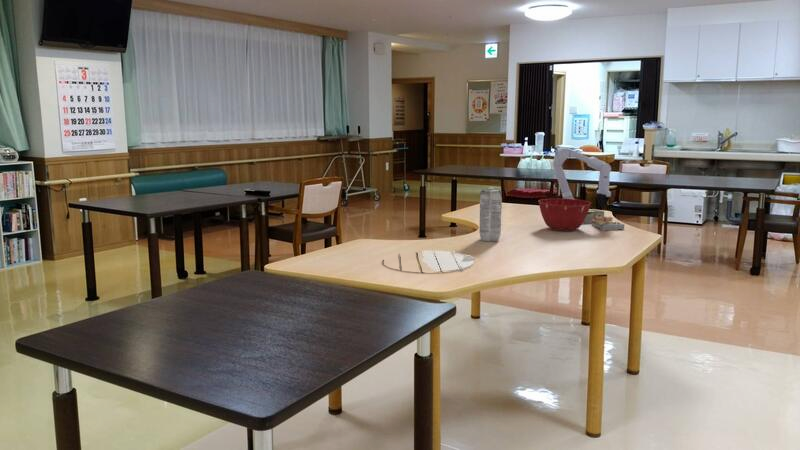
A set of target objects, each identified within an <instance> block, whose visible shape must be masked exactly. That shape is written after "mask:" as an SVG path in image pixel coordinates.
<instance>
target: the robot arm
mask: <svg viewBox="0 0 800 450" xmlns="http://www.w3.org/2000/svg"><path fill="white" fill-rule="evenodd" d="M568 158H571V159H572V158H575V159H577V160H579V161H582V162H584V163H586V165H587V166H588V167H589V168H592V169H594V170H595V171H599V175H598V176H599V177H598V189H597V190H596V198H597V200H598V205H599V208H601V209H606V208H607V205H608V202H609V200H610V198H611V195H612V192H611V191H610V178H611V177H610V175H611V171H612V167H611V165H610V163H606V161H604V160H600V159H598V157H596V156H591V157H588V156H587V155H584V154H582V153H581V152H578V151H576V150H574V149H571V148H566V147H565V146H564V147H563V146H561V147H558V149H557V150H556V151H555V153H554V156H553V162H552V168H553V170H554V172H555V175H556V179H557V182H558V184H559V188H560V190H561V195H562V199H575V198H574V197H573V193H572V191H571V189H570V186H569V183H568V179H567V177H566V174H565V171H564V168H563V165H564V163H565V161H566V160H567V159H568Z"/></svg>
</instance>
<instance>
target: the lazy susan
mask: <svg viewBox="0 0 800 450" xmlns="http://www.w3.org/2000/svg"><path fill="white" fill-rule="evenodd" d="M422 251H423V252H424V253H423V252H422V254H423V256H424V258H423V260H422V261H423V262H424V263H426V264H427V265H428V267H430V268H431V269H434V270H436V271H438V272H439V271H441V270H442V271H456V270H461V271H465V270H468V269H470V268H471V266H472V267H473V266H474V264H475V261H476V259H475V257H473V256H472V255H470V254H464V253H458V252H455V250H452V251H445V250H430V249H429V250H422ZM434 253H435V255H434ZM435 256H436V257H435ZM436 258H437V260H436ZM455 260H456V261H455ZM437 261H438V262H437ZM456 262H457V263H456ZM438 263H439V265H438ZM457 264H458V265H457ZM439 266H440V267H439ZM458 266H459V267H458ZM440 268H441V270H440ZM459 268H460V269H459ZM467 268H468V269H467ZM464 269H465V270H464ZM434 270H433V271H434ZM456 272H457V271H456Z"/></svg>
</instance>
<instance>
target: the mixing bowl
mask: <svg viewBox="0 0 800 450" xmlns="http://www.w3.org/2000/svg"><path fill="white" fill-rule="evenodd" d="M538 205H539V209H540V213H541V216H542V219H543V221H544V223H545V225H546V226H547V227H548V228H550V229H551V230H553V231H558V232H559V231H560V232H572V231H576V230H578V229H579V228H580V227H581V226H582V225H583V224H584V223H583V222H584V220H585V218H586V216H587V214H588V211H589V210H590V209H591V208H590V207H591V205H592V202H590V201H587V200H583V199H575V198H574V199H563V198H541V199H538Z"/></svg>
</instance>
